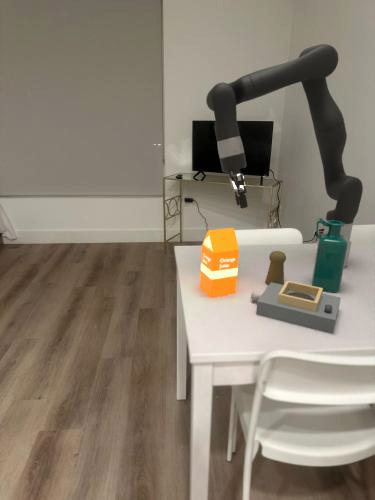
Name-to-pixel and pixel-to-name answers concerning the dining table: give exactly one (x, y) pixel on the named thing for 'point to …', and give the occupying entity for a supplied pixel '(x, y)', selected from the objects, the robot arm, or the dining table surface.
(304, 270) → the dining table surface
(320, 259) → the pitcher
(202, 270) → the orange juice
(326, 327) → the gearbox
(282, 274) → the cork
